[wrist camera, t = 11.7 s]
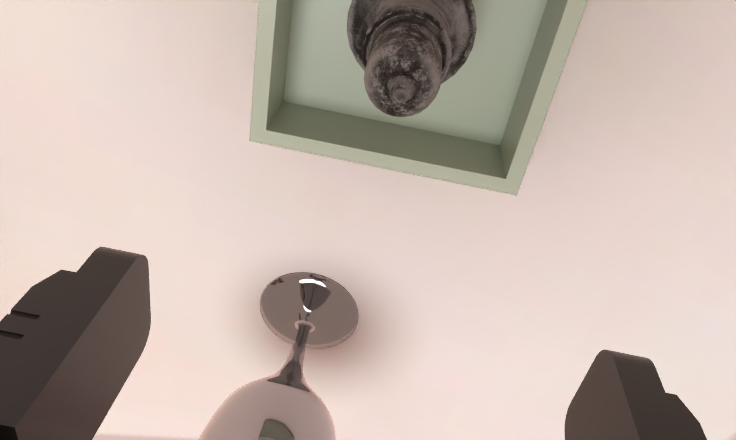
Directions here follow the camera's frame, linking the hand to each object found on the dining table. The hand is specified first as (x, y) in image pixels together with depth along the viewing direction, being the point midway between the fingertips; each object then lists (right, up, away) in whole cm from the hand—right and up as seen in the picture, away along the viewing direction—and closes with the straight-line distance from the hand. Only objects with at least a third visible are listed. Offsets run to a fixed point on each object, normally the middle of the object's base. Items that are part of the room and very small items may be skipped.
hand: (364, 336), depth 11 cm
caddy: (+3, +13, +20) cm, 24 cm away
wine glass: (-4, -4, +32) cm, 33 cm away
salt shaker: (+2, +13, +20) cm, 24 cm away
